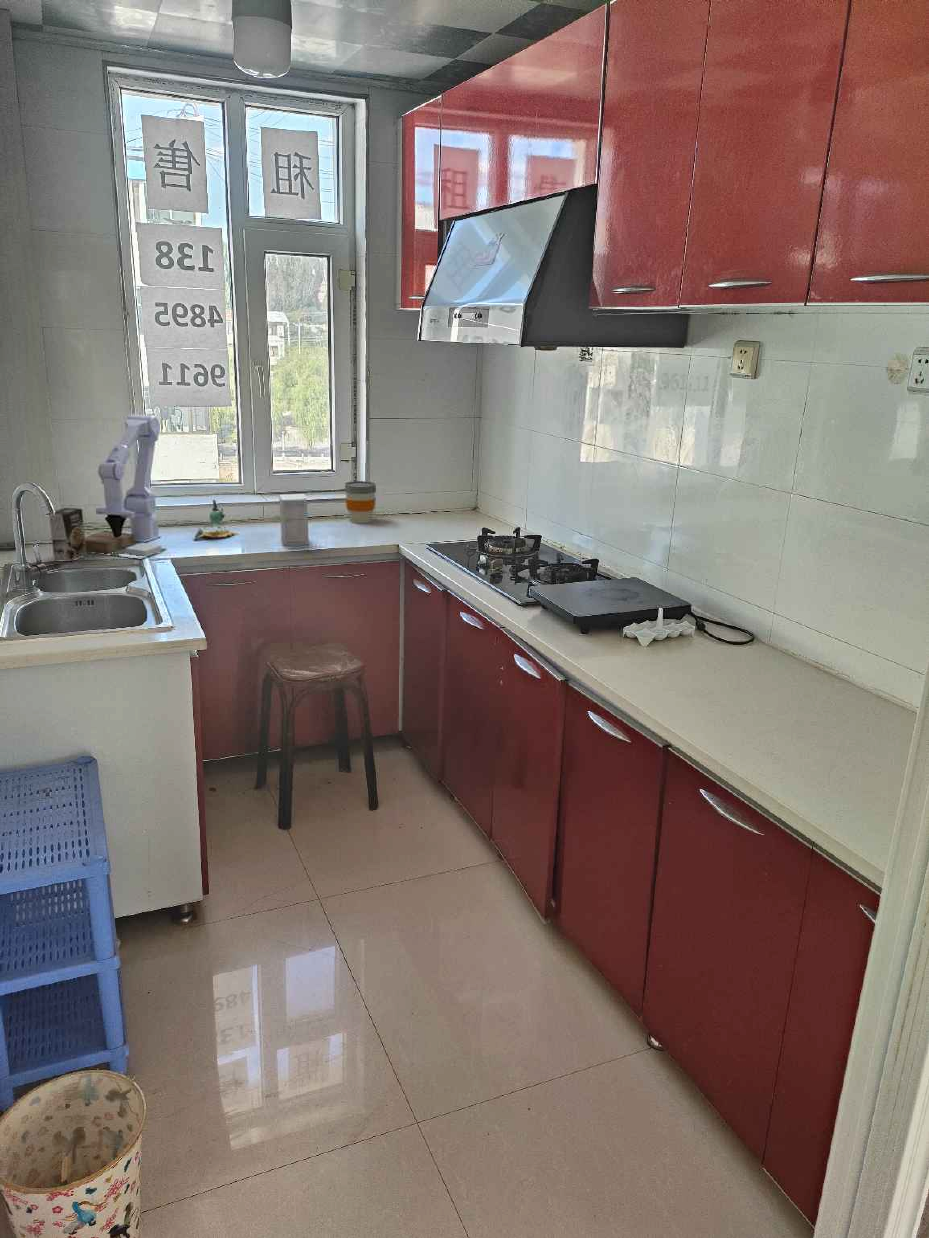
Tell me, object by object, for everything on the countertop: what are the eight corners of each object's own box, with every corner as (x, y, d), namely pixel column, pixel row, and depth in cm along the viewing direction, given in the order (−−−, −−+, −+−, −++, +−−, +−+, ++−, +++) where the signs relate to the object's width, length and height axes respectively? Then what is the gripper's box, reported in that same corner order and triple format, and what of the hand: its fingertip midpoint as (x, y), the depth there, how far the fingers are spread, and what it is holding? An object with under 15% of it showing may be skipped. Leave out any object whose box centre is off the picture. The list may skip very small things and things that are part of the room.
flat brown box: (106, 541, 315) (105, 530, 313) (134, 545, 311) (133, 534, 310) (78, 550, 302) (77, 539, 301) (107, 555, 298) (106, 543, 297)
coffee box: (71, 562, 289) (65, 514, 283) (53, 561, 290) (47, 512, 285) (87, 555, 297) (82, 508, 292) (70, 553, 298) (65, 506, 293)
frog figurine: (186, 536, 326) (187, 496, 322) (233, 536, 336) (235, 498, 332) (194, 542, 318) (195, 501, 314) (242, 542, 328) (244, 502, 324)
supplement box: (306, 538, 329) (305, 493, 323) (309, 544, 320) (308, 498, 315) (280, 539, 326) (278, 494, 320) (282, 545, 318) (280, 499, 312)
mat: (135, 545, 311) (135, 544, 311) (166, 550, 307) (166, 548, 307) (108, 555, 298) (108, 554, 298) (140, 560, 295) (140, 558, 294)
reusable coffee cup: (343, 517, 362) (342, 481, 357) (373, 517, 365) (373, 480, 360) (346, 524, 351) (346, 487, 346) (378, 524, 353) (378, 486, 348)
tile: (160, 545, 303) (161, 551, 304) (141, 542, 306) (141, 548, 306) (145, 551, 296) (146, 556, 297) (125, 548, 299) (126, 554, 299)
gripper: (87, 497, 297) (92, 536, 302) (123, 501, 293) (127, 541, 298) (102, 493, 304) (106, 532, 308) (137, 497, 299) (141, 537, 304)
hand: (117, 536), depth 303 cm, fingers closed
